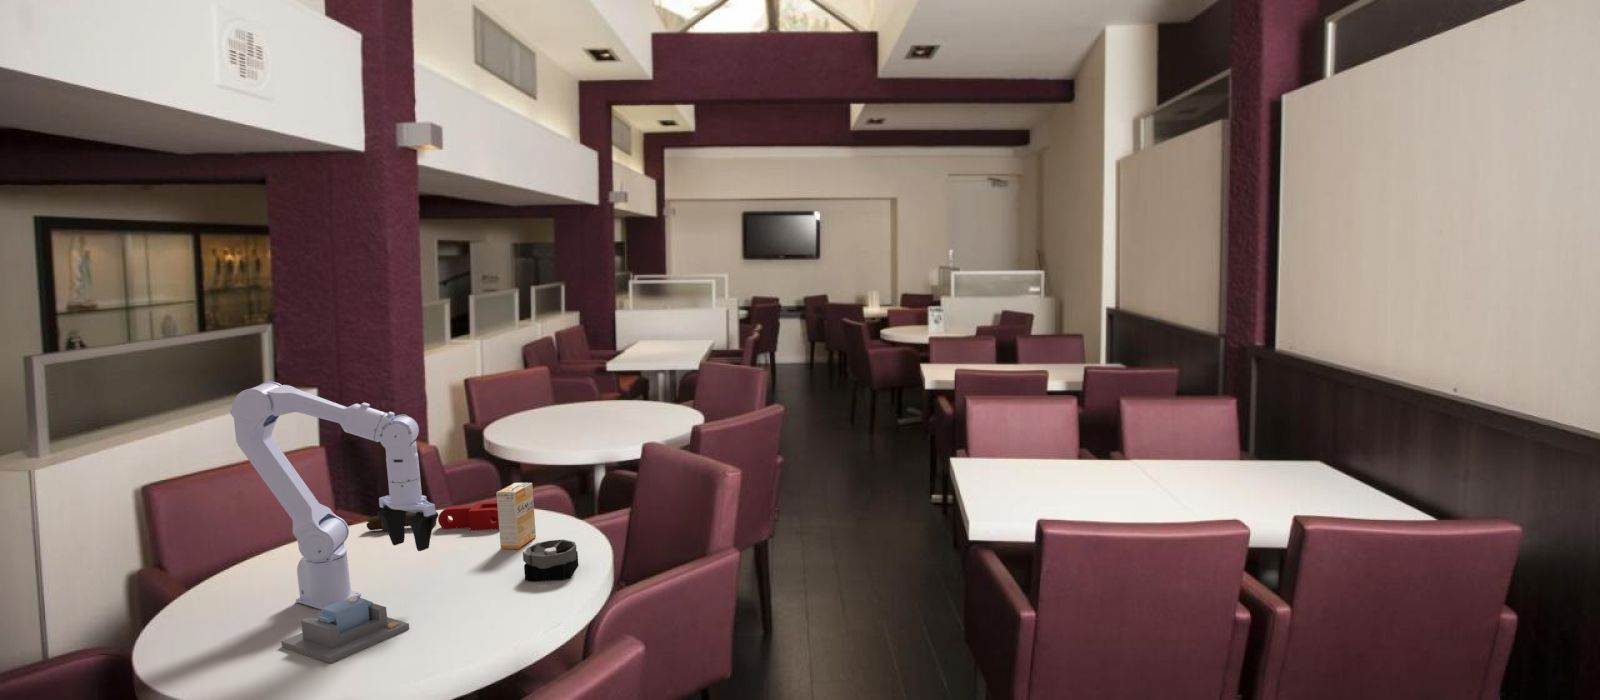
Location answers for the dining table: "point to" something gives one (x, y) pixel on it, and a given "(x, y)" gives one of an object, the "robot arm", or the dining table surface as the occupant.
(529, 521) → the supplement box
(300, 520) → the robot arm
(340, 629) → the block
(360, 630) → the board
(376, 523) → the bolt
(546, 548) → the cpu cooler
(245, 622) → the dining table surface
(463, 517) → the mechanical linkage
